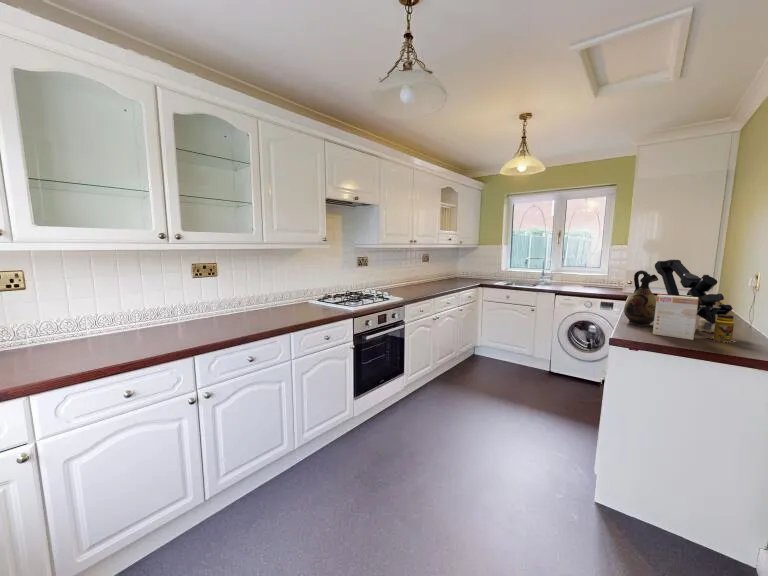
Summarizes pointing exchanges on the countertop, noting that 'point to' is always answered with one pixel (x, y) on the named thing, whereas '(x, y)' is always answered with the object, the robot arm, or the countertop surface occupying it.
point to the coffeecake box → (675, 316)
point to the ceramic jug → (641, 301)
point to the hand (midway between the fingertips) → (713, 323)
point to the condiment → (724, 328)
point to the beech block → (705, 325)
